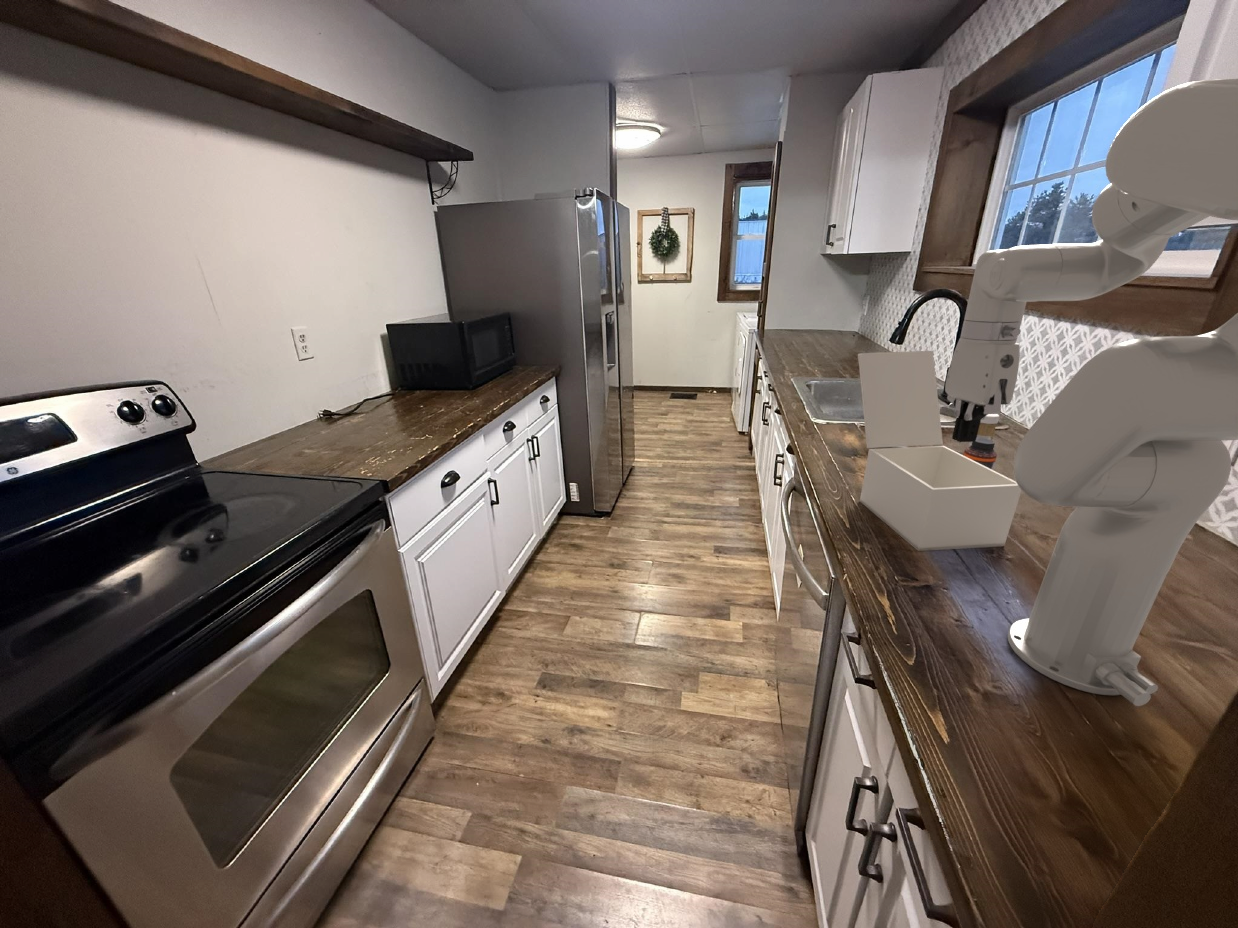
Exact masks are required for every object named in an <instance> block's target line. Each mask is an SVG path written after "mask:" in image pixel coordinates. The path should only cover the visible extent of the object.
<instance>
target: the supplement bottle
mask: <svg viewBox="0 0 1238 928" xmlns="http://www.w3.org/2000/svg"><path fill="white" fill-rule="evenodd" d="M995 445H996V441H994V440H993V439H992V440H990V439H986V438H976V440H975V441H974V442H972V445H971V446H970V447H968V446H967V447H966V448H965V449H964V452H963V454H962V455H963V456H965V457H967V458H969V459H972V460H974V461H976V462H978V463H980V464H982V465H984V466H986V467H988V468H990V469H992V470H994V467H995V464H996V459H997V458H998V455H997V452H996V451H995V450H994V448H995Z"/></svg>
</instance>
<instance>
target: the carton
mask: <svg viewBox="0 0 1238 928" xmlns="http://www.w3.org/2000/svg"><path fill="white" fill-rule="evenodd" d="M865 464H866V465H865V470H864V476H863V480H862V486H861V493H860V499H859V502H860V503H861V504H862V505H863V506H864V507H866V508H867V509H868V510H869V511H870V512H871V513H873V514H874V515H875V516H876V517H877V518H879V519H880V520H881V521H882V522H883V523H884V524H886V526H889V528H890V529H891V530H893V531H894V532H895V533H896V534H897V535H898V536H900V537H901V538H903V540H905V541H906V542H907V543H908V544H909V545H910V546H911V547H913V548H914V549H915V550H917V551H918V552H925V551H939V550H940V551H943V550H960V549H962V550H963V549H977V548H978V549H979V548H994V547H995V548H996V547H997V548H998V547H999V548H1000V547H1005V545H1006V541H1007V540H1008V539H1007V538H1008V535H1009V532H1010V529H1011V526H1012V523H1013V520H1014V518H1015V517H1014V516H1015V513H1016V509H1017V507H1018V503H1019V500H1020V496H1021V494H1022V492H1023V491H1022V490H1021V489H1020V487H1019V486H1018V484H1017V482H1016V480H1015V479H1012V478H1010V477H1009V476H1008V477H1007V476H1006V475H1003V474H1002V473H999V472H998V471H995V470H994V469H993V470H992V469H990V468H988V467H986V466H984V465H982V464H980V463H978V462H976V461H974V460H972V459H969V458H967V457H965V456H963V454H961V453H959V452H957V451H956V450H953V449H952V448H949V447H947V446H945V445H924V446H907V447H903V448H893V447H880V448H868V453H867V459H866V463H865Z"/></svg>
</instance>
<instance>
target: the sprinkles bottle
mask: <svg viewBox="0 0 1238 928" xmlns="http://www.w3.org/2000/svg"><path fill="white" fill-rule="evenodd" d="M999 419H1000V415H999V414H988V415H986V416H985V419H984V420H981V422H980V426H979V430H978V434H977V438H986V439H990V440H993V438H994V434H995V431H996V427H997V425H998V423H999ZM971 445H972V442H968V446H967V447H970V446H971Z"/></svg>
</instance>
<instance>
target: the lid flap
mask: <svg viewBox="0 0 1238 928" xmlns="http://www.w3.org/2000/svg"><path fill="white" fill-rule="evenodd" d="M857 362H858V368H859V369H858V370H859V379H860V390H861V392H860V393H861V399H862V410H863V421H864V422H863V423H864V431H865V432H864V433H865V442H866V448H867V449H878V448H893V447H900V446H907V447H923V446H943V445H944V442H943V432H942V424H941V413H940V407H939V406H940V404H939V396H938V386H937V377H936V369H935V368H936V367H935V360H934V350H917V351H916V350H914V351H911V350H910V351H891V352H890V351H889V352H887V351H885V352H881V351H880V352H860V353H857Z"/></svg>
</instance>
